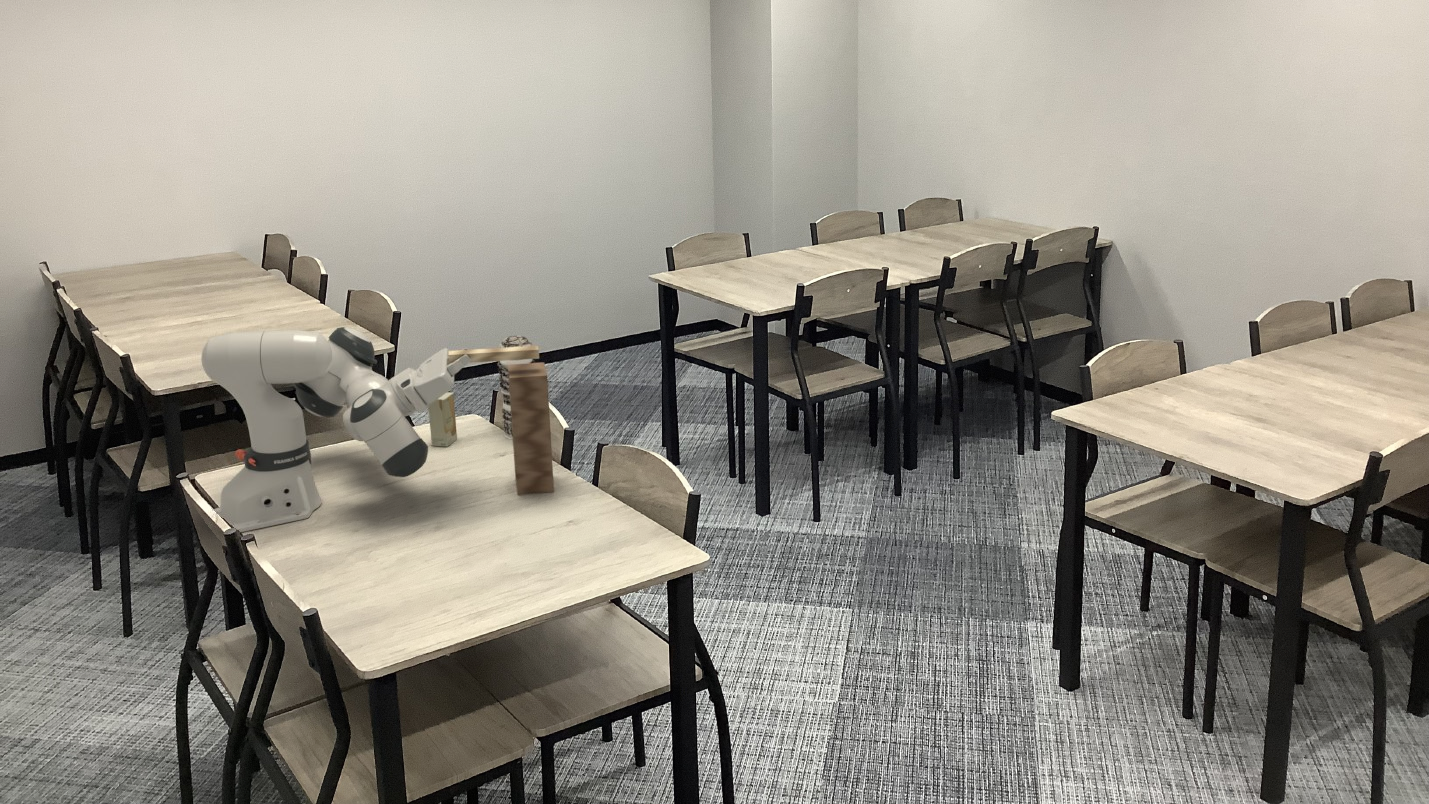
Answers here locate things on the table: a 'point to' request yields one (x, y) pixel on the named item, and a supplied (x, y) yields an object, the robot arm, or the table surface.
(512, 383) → the pedestal
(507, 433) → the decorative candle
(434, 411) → the skincare box
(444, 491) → the table surface
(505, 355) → the slat
